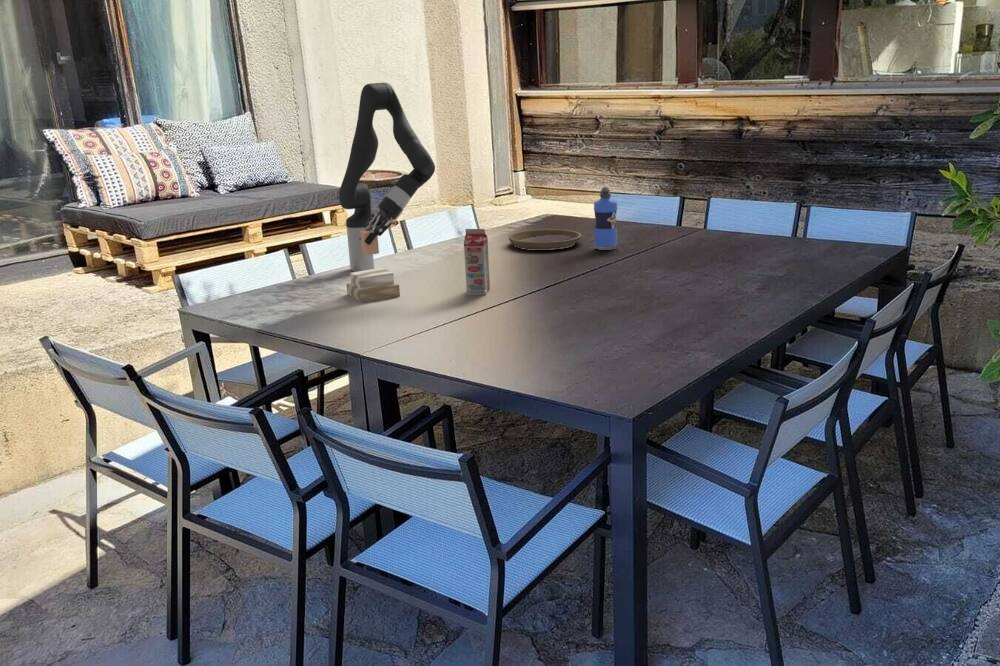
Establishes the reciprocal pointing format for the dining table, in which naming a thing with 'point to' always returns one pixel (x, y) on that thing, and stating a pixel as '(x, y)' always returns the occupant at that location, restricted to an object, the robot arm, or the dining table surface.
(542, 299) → the dining table surface
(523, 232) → the plant saucer
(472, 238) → the juice carton
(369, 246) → the terracotta brick
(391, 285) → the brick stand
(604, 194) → the water bottle
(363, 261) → the robot arm
